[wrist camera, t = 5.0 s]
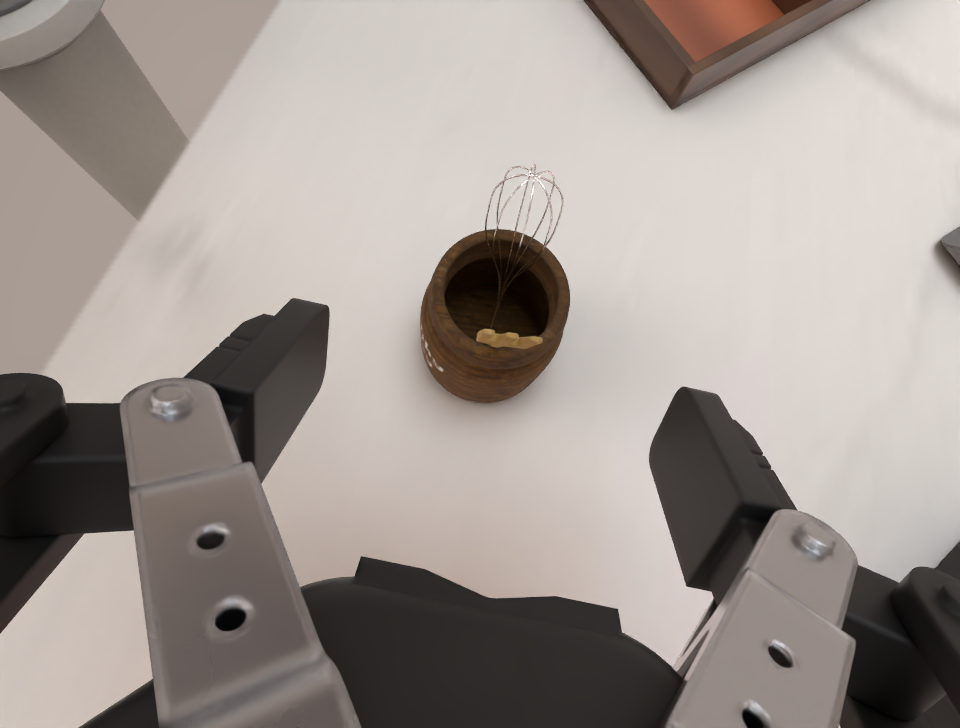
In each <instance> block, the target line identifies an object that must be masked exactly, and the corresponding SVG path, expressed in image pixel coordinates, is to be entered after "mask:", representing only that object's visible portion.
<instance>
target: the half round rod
mask: <svg viewBox="0 0 960 728" xmlns="http://www.w3.org/2000/svg"><path fill="white" fill-rule="evenodd" d="M941 241H942V242H943V243H942V244H943V246H944V247H945V248H946V249H947V251H948V252H949V253H950V254H951V256H952V257H953V258H954V259H955V260H956V262H957V263H958V264H959V265H960V227H959V228H957V229H956V230H954V231H952V232H951V233H949V234H948V235H946V236H944V237H943V239H942V240H941Z"/></svg>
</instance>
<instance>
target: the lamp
mask: <svg viewBox="0 0 960 728" xmlns="http://www.w3.org/2000/svg"><path fill="white" fill-rule="evenodd" d="M936 570H939V571H942V572H944V573H947V574H949V575H951V576H953V577H955V578H957V579H958V580H960V542H959V544H958V545H957V546H956V547H955V548H954V549H953V550H952V551H951V552H950V553H949V555H948V556H947V557H946V558H945V559H944V560H943V561H942V562H941V563H940V564H939V566H938V567H937V568H936ZM926 713H927V715H928V716H929V718H930V720H931V722H932V723H933V725H934V727H935V728H960V715H959V713H958V712H957V710H956V708H955V707H954V705H953V704H952V702H951V700H950V699H949V697H948V695H947V694H946V695H945V696H944V697H943V698H941V699H940V700H939V701H938V702H936V703H935V704H934V705H933V706H931V707H930V708H929V709H928V710H926Z"/></svg>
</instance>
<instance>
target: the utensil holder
mask: <svg viewBox="0 0 960 728" xmlns="http://www.w3.org/2000/svg"><path fill="white" fill-rule="evenodd" d="M533 167H534V174H533V173H532V169H533ZM513 168H523V169H525V170H527V171H528V172H529V173H530V174H520V175H514V176H511V177H508V178H506V176H507V174H508V172H509V171H510V170H512V169H513ZM535 173H536V165H535V164H533V165H532V168H531V170H530V171H529V170H528V169H526V168H524V167H522V166H514V167H512V168H510V169H509V170H508V171H507V173H506V174H505V177H504V180H503V181H501V182H500V183H499V184H498V185H497V186H496V187H495V189H494V190H493V192H492V195H491V198H490V202H489V205H488V209H487V214H486V220H485V231H480V232H477V233H474V234H471V235H469V236H467V237H465V238H463V239H461V240H460V241H458V242H457V243H456V244H454V245H453V246H452V247H451V248H450V249H449V250H448V251H447V252H446V253H445V255H444V256H443V257H442V259H441V260H440V262H439V264H438V266H437V267H436V269H435V272H434V274H433V276H432V279H431V282H430V283H429V285H428V287H427V289H426V292H425V295H424V298H423V302H422V307H421V316H420V331H421V344H422V350H423V355H424V358H425V361H426V364H427V366H428V368H429V370H430V372H431V373H432V375H433V376H434V377H435V379H436V380H437V381H438V382H439V383H440V384H441V385H442V386H443V387H444V388H445V389H446V390H448V391H449V392H451V393H452V394H454V395H456V396H458V397H460V398H462V399H465V400H469V401H473V402H480V403H489V402H497V401H501V400H504V399H507V398H510V397H512V396H514V395H516V394H518V393H519V392H521V391H522V390H524V389H525V388H526V387H527V386H529V385H530V384H531V383H532V382H533V381H534V380H535V379H536V378H537V377H538V376H539V374H540V373H541V372H542V371H543V370H544V369H545V367H546V366H547V365H548V364H549V362H550V361H551V359H552V358H553V356H554V355H555V353H556V351H557V349H558V347H559V344H560V342H561V339H562V335H563V330H564V327H565V324H566V320H567V317H568V312H569V306H570V290H569V285H568V280H567V277H566V275H565V272H564V270H563V268H562V266H561V264H560V263H559V261H558V260H557V258H556V257H555V256H554V255H553V254H552V252H551V251H550V250H549V249H547V248H546V245H547V244H548V243H549V241H550V240H551V238H552V237H553V235H554V233H555V230H556V228H557V225H558V222H559V219H560V216H561V213H562V209H563V204H564V201H563V195H562V193H561V191H560V189H559V188H558V187H557V185H556V184H555V177H554V175H553V173H552V172H550V171H543V172H540V173H538V174H536V175H535ZM542 173H550V174H552V176H553V182H552V181H550V180H548V179H546V178H543V177H540V176H537V175H539V174H542ZM531 174H532V175H531ZM517 176H529V177H528V179H527V180H526V181H525V182H523V183H522V184H521V185H520V186H519V187H518V188H517V189H516V190H515V191H514V192H513V193H512V195H511V196H510V197H509V199H508V200H507V202H506V203H505V205H504V207H503V209H502V211H501V213H500V216H499V219H498V208H499V202H500V197H501V193H502V189H503V185H504V181H506V180H508V179H510V178H513V177H517ZM530 176H532V177H530ZM533 177H534V178H533ZM537 177H538V178H541V179H544V180H547V181H549V182H550V183H552V184H553V187H552V191H551V194H550V197H549V196H548V194H547V191H546V189H545V188H544V186H543V184H542V183H541V182H540V180H539V179H538V178H537ZM505 178H506V179H505ZM532 178H533V186H532V193H531V199H530V204H529V209H528V214H527V219H526V223H525V227H524V230H523V234H522V233H519V232H516V229H517V225H518V220H519V216H520V212H521V208H522V204H523V200H524V196H525V193H526V189H527V186H528V182H529V180H530V179H532ZM535 178H536V179H537V180H538V182H539V183H540V184H541V186H542V187H543V189H544V191H545V193H546V195H547V198H548V204H547V207H546V210H545V212H544V215H543V217H542V220H541V222H540V224H539V226H538V228H539V227H540V225H541V223H542V221H543V218H544V216H545V213H546V211H547V208H548V205H550V211H551V222H550V227H549V230H548V234H547V237H546V240H545V243H544V245H543V244H541V243H540V242H538V241H537V240H535V239H533V237H534V236H535V234H536V232H537V230H538V228H537V229H536V231H535V233H534V235H533V236H532V237H529V236H527V235H525V234H524V232H525V229H526V225H527V221H528V217H529V212H530V207H531V202H532V196H533V190H534V183H535ZM526 182H527V184H526V188H525V191H524V195H523V199H522V203H521V207H520V211H519V215H518V219H517V223H516V228H515V231H511V230H502V229H498V224H499V221H500V217H501V214H502V212H503V210H504V208H505V206H506V204H507V203H508V201H509V200H510V198H511V197H512V196H513V195H514V193H515V192H516V191H517V190H518V189H519V188H520V187H521V186H522V185H523V184H525V183H526ZM501 183H502V187H501V191H500V195H499V200H498V206H497V226H496V229H493V230H486V224H487V216H488V211H489V207H490V203H491V199H492V196H493V193H494V191H495V190H496V188H497V187H498V186H499V185H500V184H501ZM554 186H555V187H556V188H557V189H558V190H559V192H560V194H561V197H562V207H561V211H560V214H559V218H558V221H557V224H556V227H555V229H554V232H553V234H552V236H551V237H550V239H549V241H548V242H547V243H546V241H547V238H548V235H549V232H550V229H551V225H552V207H551V202H550V199H551V196H552V192H553V189H554ZM545 244H546V245H545Z"/></svg>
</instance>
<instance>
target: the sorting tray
mask: <svg viewBox="0 0 960 728" xmlns="http://www.w3.org/2000/svg"><path fill="white" fill-rule="evenodd" d="M584 1H585V2H586V3H587V4H588V5H589V7H590V8H591V9H592V10H593V12H594V13H595V14H596V15H597V17H598V18H599V19H600V20H601V22H602V23H603V24H604V25H605V27H606V28H607V29H608V30H609V31H610V33H611V34H612V35H613V36H614V38H615V39H616V40H617V41H618V43H619V44H620V45H621V46H622V48H623V49H624V50H625V51H626V53H627V54H628V55H629V56H630V57H631V59H632V60H633V61H634V62H635V64H636V65H637V66H638V67H639V69H640V70H641V71H642V72H643V74H644V75H645V76H646V77H647V79H648V80H649V81H650V82H651V83H652V85H653V86H654V87H655V88H656V90H657V91H658V92H659V93H660V95H661V96H662V97H663V98H664V100H665V101H666V102H667V103H668V105H669V106H670V107H671V108H672V109H673V108H675V107H677V106H679V105H681V104H683V103H684V102H686V101H688V100H690V99H692V98H693V97H695V96H697V95H699V94H701V93H702V92H704V91H706V90H708V89H710V88H712V87H713V86H715V85H717V84H719V83H721V82H722V81H724V80H726V79H728V78H730V77H732V76H733V75H735V74H737V73H739V72H741V71H742V70H744V69H746V68H748V67H750V66H752V65H753V64H755V63H757V62H759V61H761V60H762V59H764V58H766V57H768V56H770V55H771V54H773V53H775V52H777V51H779V50H781V49H782V48H784V47H786V46H788V45H790V44H791V43H793V42H795V41H797V40H799V39H801V38H802V37H804V36H806V35H808V34H810V33H811V32H813V31H815V30H817V29H819V28H821V27H822V26H824V25H826V24H828V23H830V22H831V21H833V20H835V19H837V18H839V17H840V16H842V15H844V14H846V13H848V12H850V11H851V10H853V9H855V8H857V7H859V6H860V5H862V4H864V3H866V2H868V1H870V0H584Z"/></svg>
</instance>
